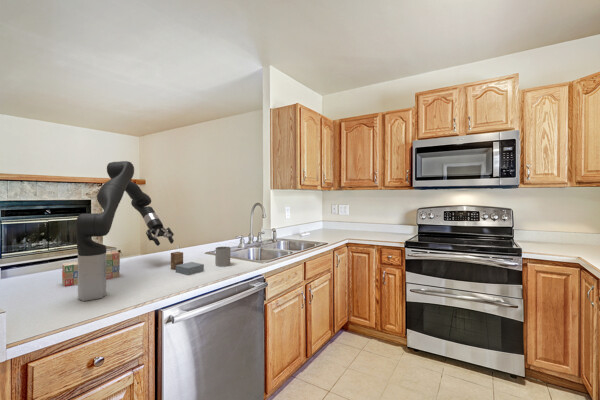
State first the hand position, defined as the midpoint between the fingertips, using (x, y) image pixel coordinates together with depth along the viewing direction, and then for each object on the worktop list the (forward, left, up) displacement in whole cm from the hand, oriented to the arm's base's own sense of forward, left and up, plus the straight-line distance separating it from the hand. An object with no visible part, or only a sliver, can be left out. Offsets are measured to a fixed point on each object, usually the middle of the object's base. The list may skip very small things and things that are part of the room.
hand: (165, 243), depth 163 cm
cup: (-13, -29, -13) cm, 34 cm away
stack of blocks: (-9, +34, -13) cm, 37 cm away
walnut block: (-9, -4, -13) cm, 16 cm away
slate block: (-18, -9, -13) cm, 24 cm away
